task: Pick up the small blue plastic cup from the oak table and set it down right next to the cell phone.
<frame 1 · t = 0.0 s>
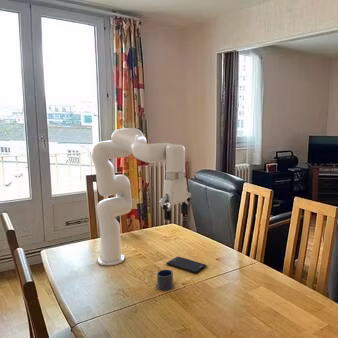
hand: (176, 216, 133), 31 cm above the table, tool pointing down, fingers open, 9 cm apart
blue plastic cup: (165, 286, 139), on the table
cell phone: (186, 265, 159), on the table
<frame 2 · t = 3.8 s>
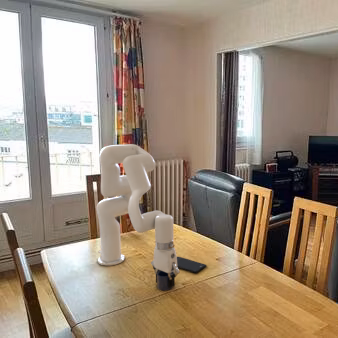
hand: (165, 283, 139), 1 cm above the table, tool pointing down, fingers closed on blue plastic cup, 6 cm apart
blue plastic cup: (165, 286, 139), on the table, touching gripper
everything else where it was.
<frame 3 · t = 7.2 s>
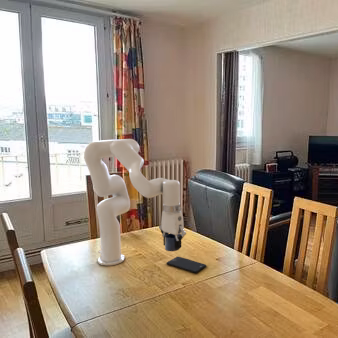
hand: (172, 246, 147), 14 cm above the table, tool pointing down, fingers closed on blue plastic cup, 6 cm apart
blue plastic cup: (172, 248, 147), point 13 cm above the table, touching gripper
everything else where it was.
when the fingers open (1 cm above the table, at t = 10.5 s): blue plastic cup stays where it is, on the table.
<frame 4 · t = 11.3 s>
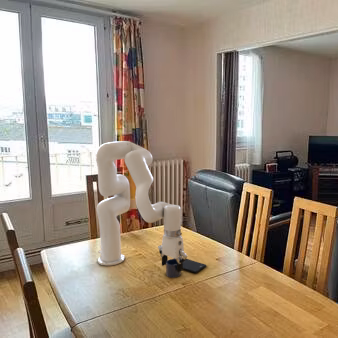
hand: (172, 267, 150), 3 cm above the table, tool pointing down, fingers open, 9 cm apart
blue plastic cup: (173, 274, 150), on the table
everything else where it was.
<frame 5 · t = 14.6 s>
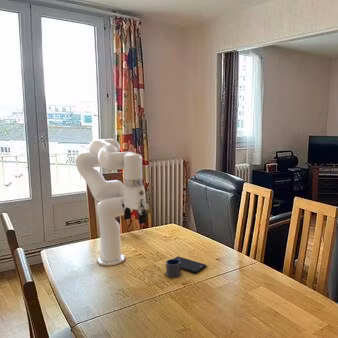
hand: (134, 221, 143), 26 cm above the table, tool pointing down, fingers open, 9 cm apart
nothing on the table moved.
at the end: blue plastic cup 10.0 cm from the cell phone (horizontally); blue plastic cup moved 11.2 cm from its start; blue plastic cup tilted 0° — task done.
